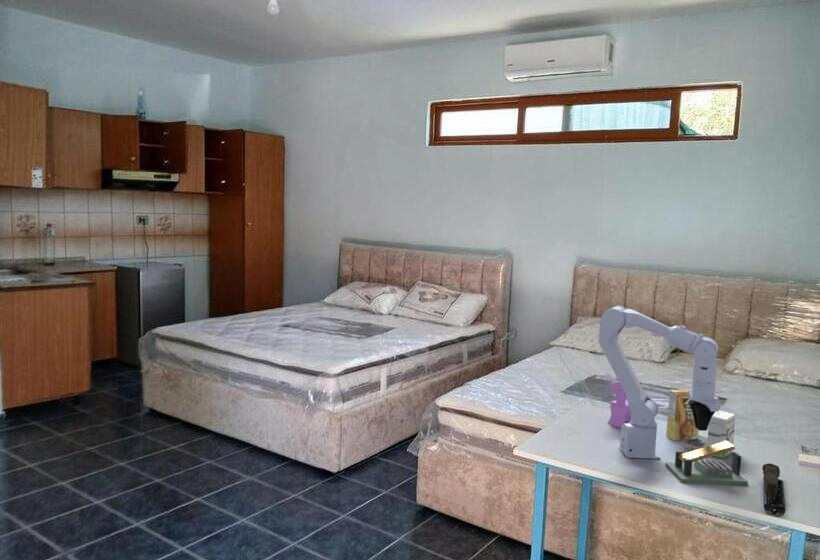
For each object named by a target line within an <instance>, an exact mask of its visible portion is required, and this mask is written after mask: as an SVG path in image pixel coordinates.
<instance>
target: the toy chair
mask: <svg viewBox="0 0 820 560" xmlns="http://www.w3.org/2000/svg"><path fill="white" fill-rule="evenodd" d="M609 387H610V390H611V391H612V392H613V393H614V394H615V400H611V401H610V407H609V408H610V418H609V419H608V422H607V424H606V425H609V424H610V425H609V426H612V425H613V427H616V426H617V427H616V428H619V427H620V429H621V427H622V424H624V423H625V422H627V421H628V422H627V423H630V422H631V411H630V408H629V406H628V402H627V396H626V394H625V392H624V390H623V388H622V386H621V384H620V383H619V381H618V380H615V381H613V382H611V383H610V385H609Z"/></svg>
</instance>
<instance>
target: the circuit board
mask: <svg viewBox="0 0 820 560" xmlns="http://www.w3.org/2000/svg"><path fill="white" fill-rule="evenodd" d="M694 463H695V462H692V471H691V476H685V475H684V474H683V473H684V463H682V467H676V466H675V462H667V461H666V462H665V463H664V467H666V468H667V469H668V470H669V471H670V472H671V473H672V475H674V476H675V477H676V478H677V480H678V481H679V482H681V484H683V483H684V484H706V485H707V484H708V485H710V484H711V485H732V486H733V485H734V486H749V481H748V480H747V479H746V478H745V477H744V476H742V475H741V474H740V475H736V474H735V473H734V472H733V473H732V474H733V478H724V477H705V476H704V475H703V474H702V473H701V472H700V471H699V470H698V469H697V468H695V467H694ZM726 465H727V466H729V465H728V464H726ZM729 467H730V468H731V466H729Z"/></svg>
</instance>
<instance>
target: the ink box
mask: <svg viewBox="0 0 820 560" xmlns="http://www.w3.org/2000/svg"><path fill="white" fill-rule="evenodd" d="M735 424H736V414H735V413H731V412H727V411H723V410H720V409H719V412H715V413H714V414H713V416H712V418H711V420H710V422H709V425H708V428H707V431H708V432H707V445H706V447H707V446H710V445H714V444H717V443H720V442H724V441H728V442H729V443H731V444H732V445H733V446H734V437H735V426H736V425H735ZM732 452H734V450H732V451H728V452H725V453H722V454H718V455H715V456H714V457H717V458H719V459H720V458H721V459H724V458H726V457H727V456H729V455H731V454H732Z"/></svg>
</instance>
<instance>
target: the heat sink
mask: <svg viewBox="0 0 820 560" xmlns="http://www.w3.org/2000/svg"><path fill="white" fill-rule="evenodd" d="M679 454H684V452H683V451H682V450H676V451H675V461H674V463H675V466H676V467H682V463H683V462H682V461H681V460H680V459H679V458H678V455H679ZM730 455H731V456H730V457H731V465H728V464H727V463H725V462H724V461H723V460H721V459H720V458H717V460H715V458H712V459H711V460H710V458H705V459H702V460H699V461H695V462H692V460H691V459H684V473H683V474H684V475H685V476H691V471H692V463H694V467H695V468H697V469H698V470H699V471H700V472H701V473H702V474H703V475H704V476H705V477H724V478H733V474H732V473H733V472H734V473H735V474H736V475H741V473H740V472H741V464H742V462H741V461H742V456H741V455H740V454H739V453H737V452H736V451H732V452H731V453H730ZM727 465H728V466H727ZM730 467H731V468H730Z"/></svg>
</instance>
